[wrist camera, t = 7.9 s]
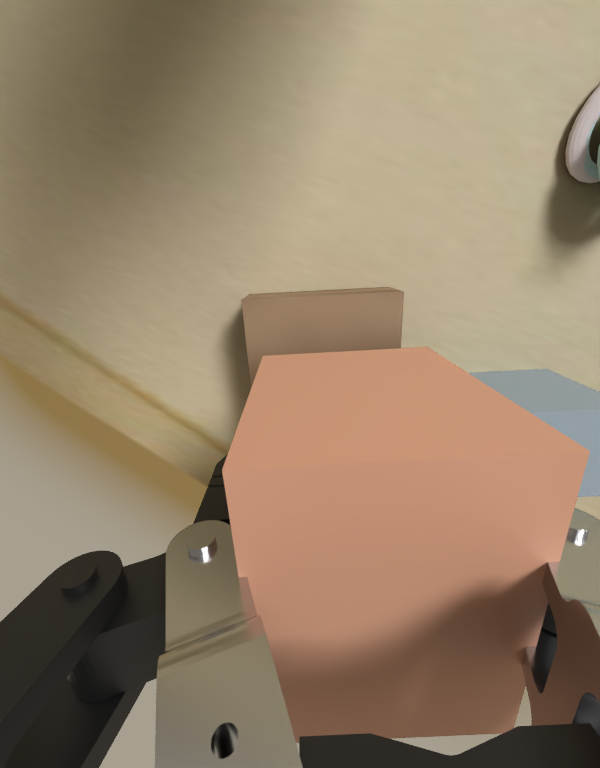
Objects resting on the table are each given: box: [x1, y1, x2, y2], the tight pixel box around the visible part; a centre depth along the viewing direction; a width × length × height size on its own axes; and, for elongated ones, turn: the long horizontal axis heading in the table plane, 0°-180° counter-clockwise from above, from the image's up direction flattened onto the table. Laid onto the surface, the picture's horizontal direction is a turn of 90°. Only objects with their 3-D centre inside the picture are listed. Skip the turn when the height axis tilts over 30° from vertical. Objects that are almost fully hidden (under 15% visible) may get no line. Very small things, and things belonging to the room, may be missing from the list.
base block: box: [241, 287, 404, 388], centre depth 19 cm, size 8×8×3 cm
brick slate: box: [469, 369, 600, 497], centre depth 19 cm, size 6×5×6 cm
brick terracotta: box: [222, 347, 590, 743], centre depth 8 cm, size 6×5×6 cm
